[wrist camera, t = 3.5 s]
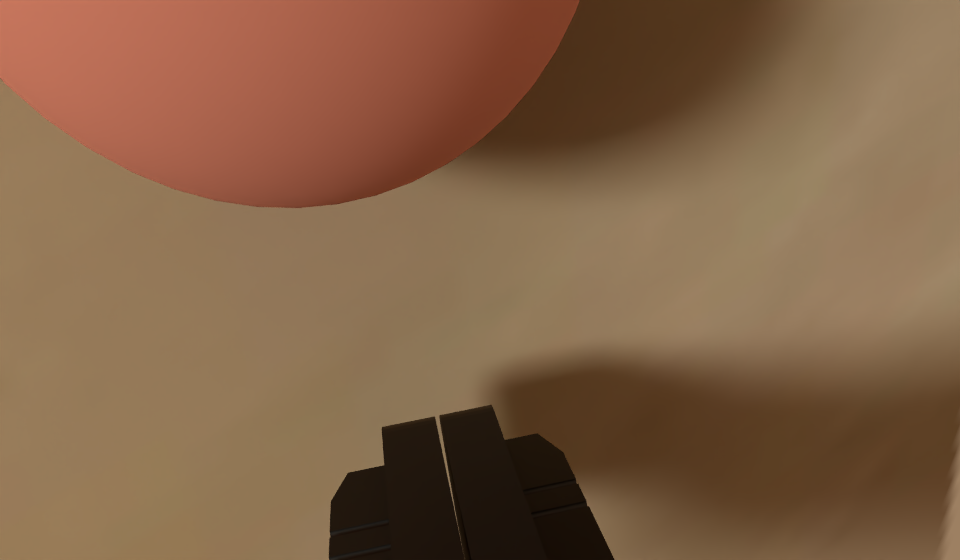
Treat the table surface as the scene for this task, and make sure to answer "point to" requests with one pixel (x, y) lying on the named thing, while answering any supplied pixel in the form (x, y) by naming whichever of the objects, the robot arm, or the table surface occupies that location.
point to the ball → (278, 86)
